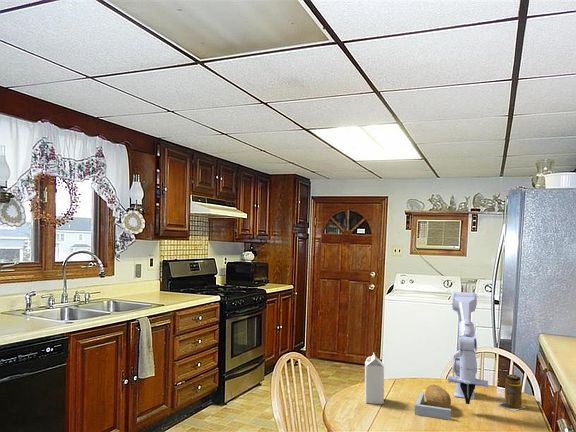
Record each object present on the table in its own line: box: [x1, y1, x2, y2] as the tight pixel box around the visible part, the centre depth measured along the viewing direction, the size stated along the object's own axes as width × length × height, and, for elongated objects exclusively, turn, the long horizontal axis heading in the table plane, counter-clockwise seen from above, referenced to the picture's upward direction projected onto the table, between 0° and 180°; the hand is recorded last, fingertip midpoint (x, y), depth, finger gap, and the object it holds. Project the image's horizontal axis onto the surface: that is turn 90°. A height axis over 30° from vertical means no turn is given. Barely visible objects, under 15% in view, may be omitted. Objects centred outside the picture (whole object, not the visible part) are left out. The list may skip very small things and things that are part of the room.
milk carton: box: [364, 352, 385, 405], centre depth 192 cm, size 7×7×19 cm
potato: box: [424, 384, 452, 409], centre depth 184 cm, size 10×14×8 cm
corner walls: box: [414, 391, 452, 421], centre depth 182 cm, size 16×13×4 cm
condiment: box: [497, 374, 526, 412], centre depth 187 cm, size 7×8×12 cm
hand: (467, 403), depth 180 cm, fingers closed
